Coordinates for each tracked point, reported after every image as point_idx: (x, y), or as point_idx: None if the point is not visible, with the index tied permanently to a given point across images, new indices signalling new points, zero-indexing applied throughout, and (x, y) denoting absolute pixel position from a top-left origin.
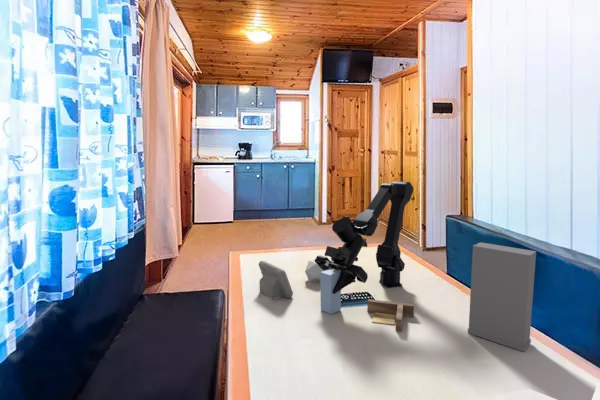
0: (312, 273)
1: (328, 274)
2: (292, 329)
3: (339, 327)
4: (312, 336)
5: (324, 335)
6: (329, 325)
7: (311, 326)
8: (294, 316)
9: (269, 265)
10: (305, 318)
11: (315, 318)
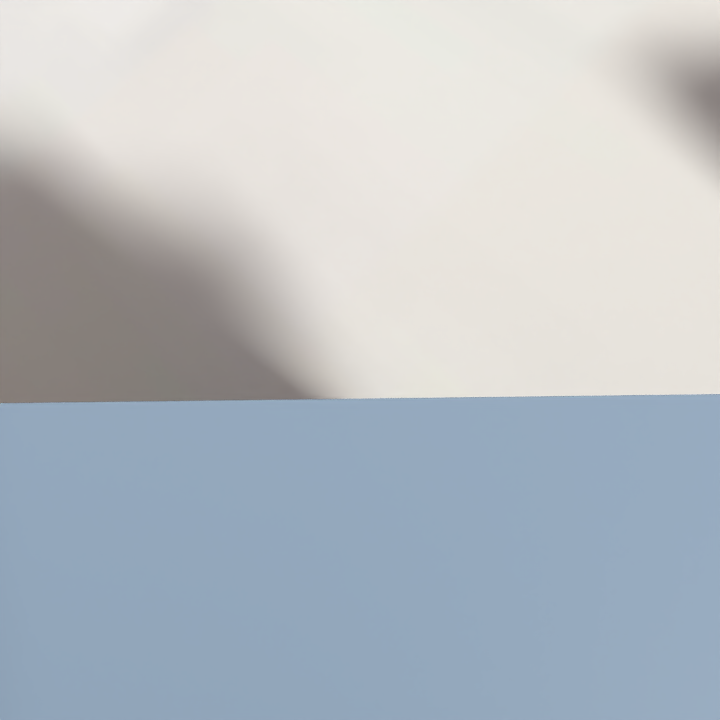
0: None
1: (62, 427)
2: (352, 15)
3: (19, 360)
4: (123, 63)
5: (48, 145)
6: (131, 316)
7: (261, 170)
8: (573, 185)
9: None
10: (446, 240)
11: (364, 321)
